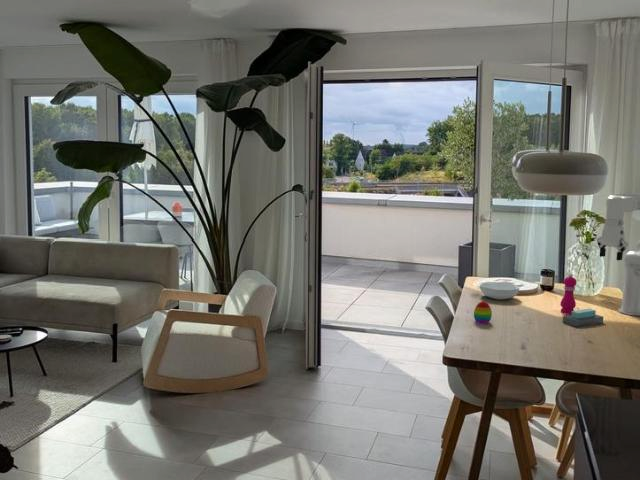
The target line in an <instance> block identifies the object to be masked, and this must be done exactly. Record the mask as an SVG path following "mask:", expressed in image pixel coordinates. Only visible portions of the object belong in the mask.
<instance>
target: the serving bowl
mask: <svg viewBox="0 0 640 480" xmlns="http://www.w3.org/2000/svg"><path fill="white" fill-rule="evenodd" d="M479 289H480V292H481V293H482V294H483V295H484V296H485V297H488V298H491V299H494V300H497V301H498V300H501V301H504V300H507V299H508V300H510V299H512V298H514V297H516V296H517V295H518V293H519V291H520V286H519V285H516V284H513V283H507V282H501V281H500V282H499V281H486V282H481V283H479Z"/></svg>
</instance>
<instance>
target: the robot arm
mask: <svg viewBox="0 0 640 480" xmlns="http://www.w3.org/2000/svg"><path fill="white" fill-rule="evenodd" d="M605 206H606V213H605V214H606V215H605V222H604V223H605V224H604V225H603V228H602V232H601V236H600V237H597V238H596V242H597V245H598V248H599V257H600V258H602V257H606V251H607V250H606V249H607V248H606V247H611V248H612V247H613V248H616V249H617V252H616V261H622V260H623V263H624V278H623V279H624V280H623V288H622V289H623V291H622V299H621V300H622V301H621V307H619V308H618V309H617V311H618V312H619V313H621V314H624V315H629V316H639V317H640V239H639V240H638V241H637V244H636V248H635V249H636V250H630V251H628V252H627V253H626V254H625V255H624V253H625V251H626V250H627V248H628V246H629V245H630V244H629V243H628V242H627V241H626V240H625V239H626V238H625V237H626V235H625V226H623V225H625V222H624V213H634V212H635V211H640V192H633V193H617V194H610V195H609V196H608V197H607V198H606V200H605ZM623 255H624V257H623Z"/></svg>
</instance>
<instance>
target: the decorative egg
mask: <svg viewBox="0 0 640 480" xmlns="http://www.w3.org/2000/svg"><path fill="white" fill-rule="evenodd" d="M492 315H493V313H492V308H491V306H490V304H489V303H488V302H486V301H484V300H482V301H480V302H478V303H477V304H476V306H475V308H474V311H473V317H474V320H475V322H476V323H478V322H479V323H478V324H482V323H485V324H489V322H490V321H491V319H492Z"/></svg>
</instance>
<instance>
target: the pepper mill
mask: <svg viewBox="0 0 640 480" xmlns="http://www.w3.org/2000/svg"><path fill="white" fill-rule="evenodd" d="M563 284H564V286H563V290H564V295H563V297H562V299H561V301H560V304H559V305H560V306H561V309H560V313H561V314H564V315H571V314H572V311H575V308H576V305H577V303H576V299H575V297H574V291H575V290H576V289H575V288H576V287H575V286H576V285H577V280H576V278H575V277H573V274H572V273H569V274H568V276H567V277H565V278H564V279H563Z"/></svg>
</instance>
